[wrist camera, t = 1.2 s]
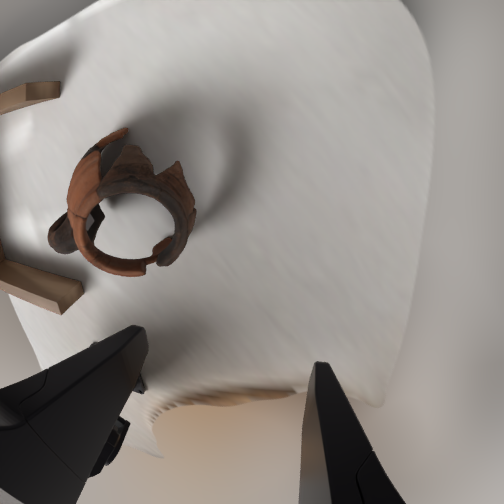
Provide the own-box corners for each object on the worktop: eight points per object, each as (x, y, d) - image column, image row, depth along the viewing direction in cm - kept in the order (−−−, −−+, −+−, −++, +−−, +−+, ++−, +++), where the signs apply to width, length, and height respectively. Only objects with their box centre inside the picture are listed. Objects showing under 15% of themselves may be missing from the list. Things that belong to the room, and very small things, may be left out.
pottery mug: (153, 94, 19) (144, 132, 13) (212, 186, 25) (230, 252, 20) (39, 181, 20) (4, 246, 14) (105, 249, 27) (96, 319, 21)
